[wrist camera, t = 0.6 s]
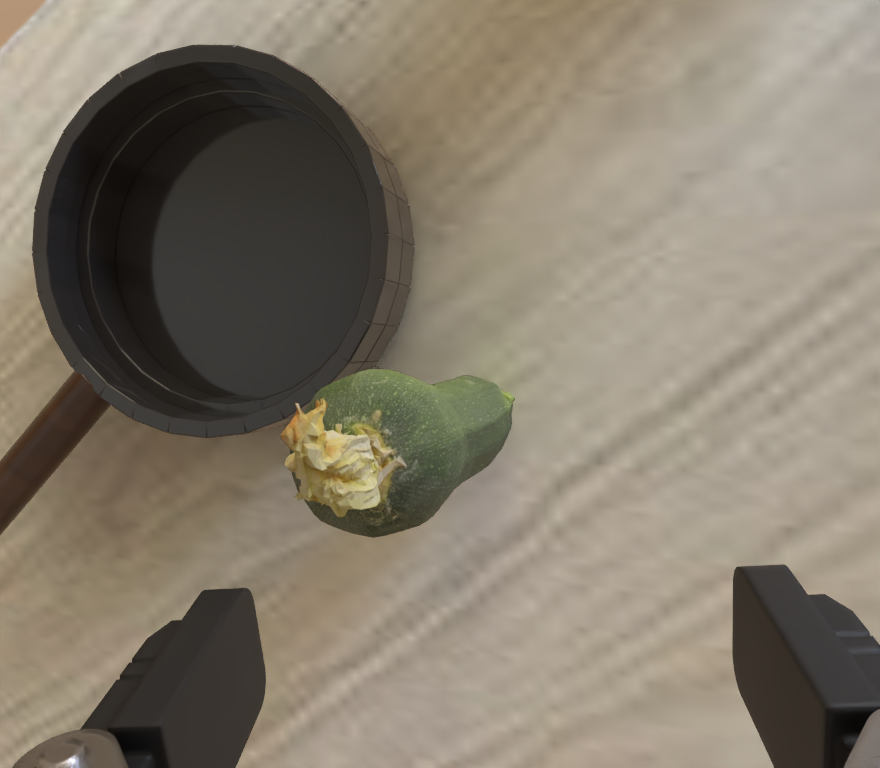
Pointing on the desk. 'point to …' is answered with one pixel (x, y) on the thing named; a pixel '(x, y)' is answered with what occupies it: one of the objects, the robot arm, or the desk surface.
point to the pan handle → (47, 444)
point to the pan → (219, 242)
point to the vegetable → (392, 447)
